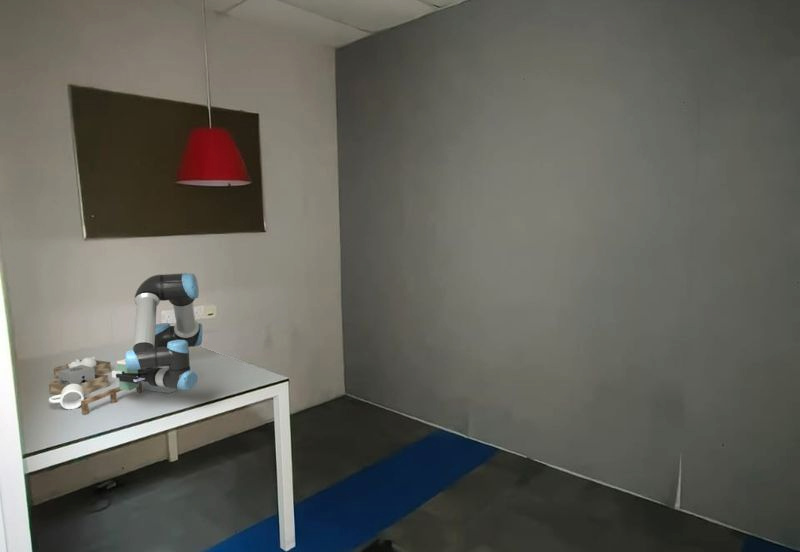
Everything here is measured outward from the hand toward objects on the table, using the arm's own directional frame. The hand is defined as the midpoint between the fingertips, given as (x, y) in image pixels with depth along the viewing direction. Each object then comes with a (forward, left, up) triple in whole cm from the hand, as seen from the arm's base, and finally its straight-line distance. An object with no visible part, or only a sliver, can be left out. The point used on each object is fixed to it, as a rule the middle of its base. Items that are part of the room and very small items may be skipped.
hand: (118, 371), depth 203 cm
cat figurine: (-22, -51, -13) cm, 57 cm away
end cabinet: (-16, +4, -13) cm, 21 cm away
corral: (-12, -39, -13) cm, 43 cm away
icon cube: (-3, -29, -13) cm, 32 cm away
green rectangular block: (0, +5, -6) cm, 8 cm away
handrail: (+2, -1, -13) cm, 13 cm away
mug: (+12, -16, -13) cm, 24 cm away
